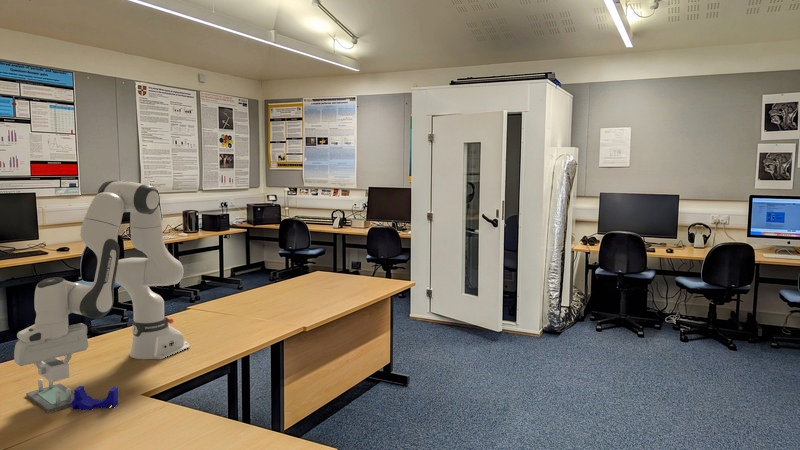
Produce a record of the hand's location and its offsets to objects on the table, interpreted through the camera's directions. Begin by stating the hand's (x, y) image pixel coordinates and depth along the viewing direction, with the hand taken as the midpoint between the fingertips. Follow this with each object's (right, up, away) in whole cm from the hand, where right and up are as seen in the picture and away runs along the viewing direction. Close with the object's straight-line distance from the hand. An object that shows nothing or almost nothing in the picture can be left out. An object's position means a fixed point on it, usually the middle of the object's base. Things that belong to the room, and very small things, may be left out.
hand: (53, 370), depth 169 cm
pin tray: (-1, -10, +2) cm, 10 cm away
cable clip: (+15, -11, -2) cm, 19 cm away
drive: (0, -2, 0) cm, 2 cm away
